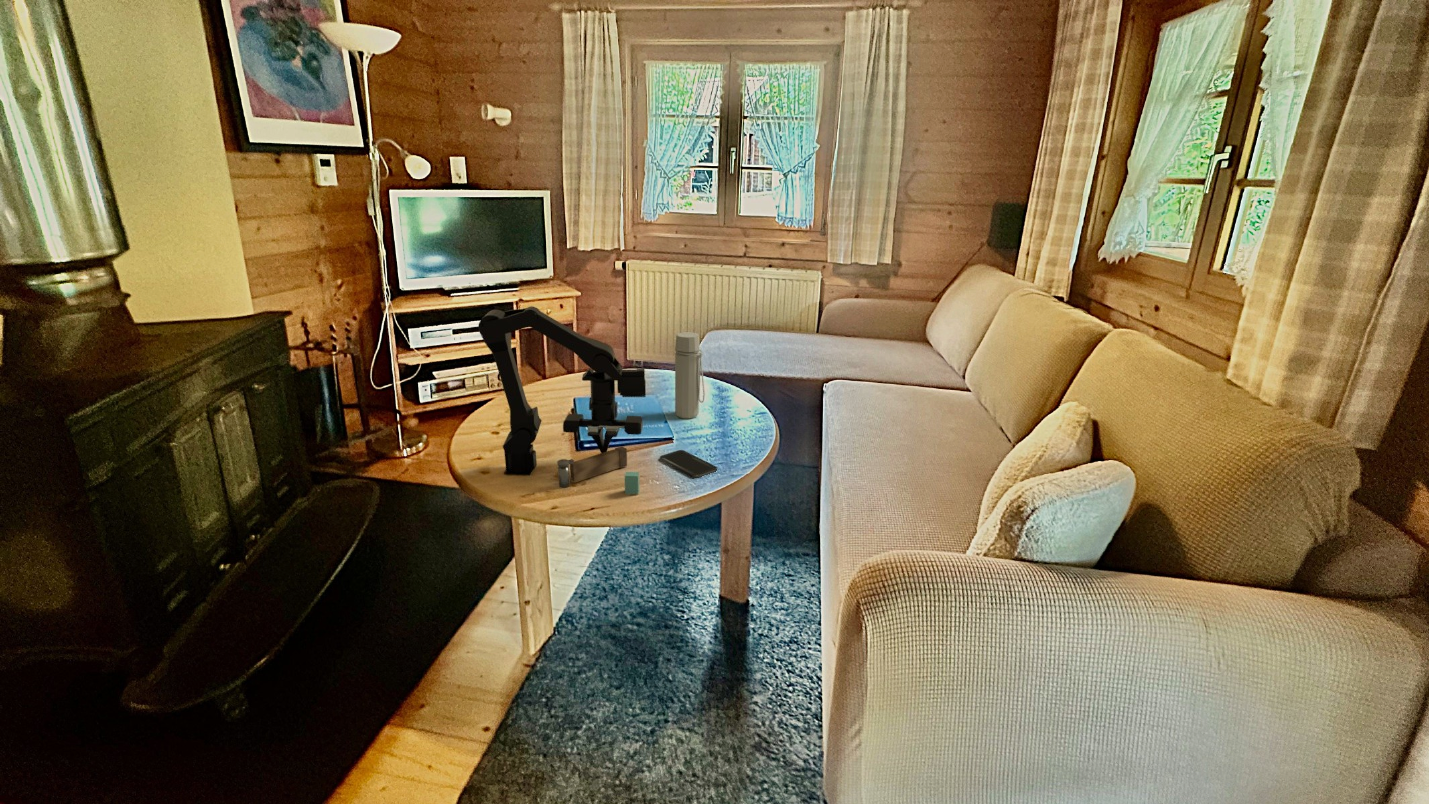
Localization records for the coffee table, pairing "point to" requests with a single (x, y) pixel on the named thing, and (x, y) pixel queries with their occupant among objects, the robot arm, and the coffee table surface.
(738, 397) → the coffee table surface
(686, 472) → the phone
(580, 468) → the gate
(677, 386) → the water bottle
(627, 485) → the block
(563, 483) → the hinge post
